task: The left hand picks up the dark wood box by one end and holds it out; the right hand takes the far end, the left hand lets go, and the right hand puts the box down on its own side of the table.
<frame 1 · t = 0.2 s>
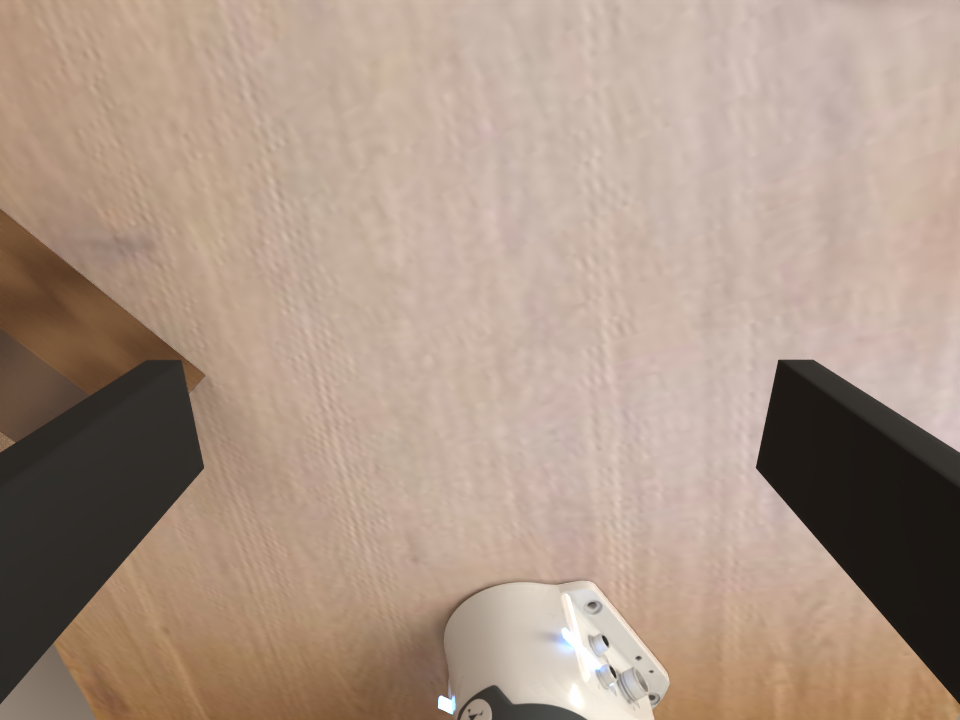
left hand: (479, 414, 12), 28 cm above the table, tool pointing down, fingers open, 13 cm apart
box: (65, 308, 40), on the table
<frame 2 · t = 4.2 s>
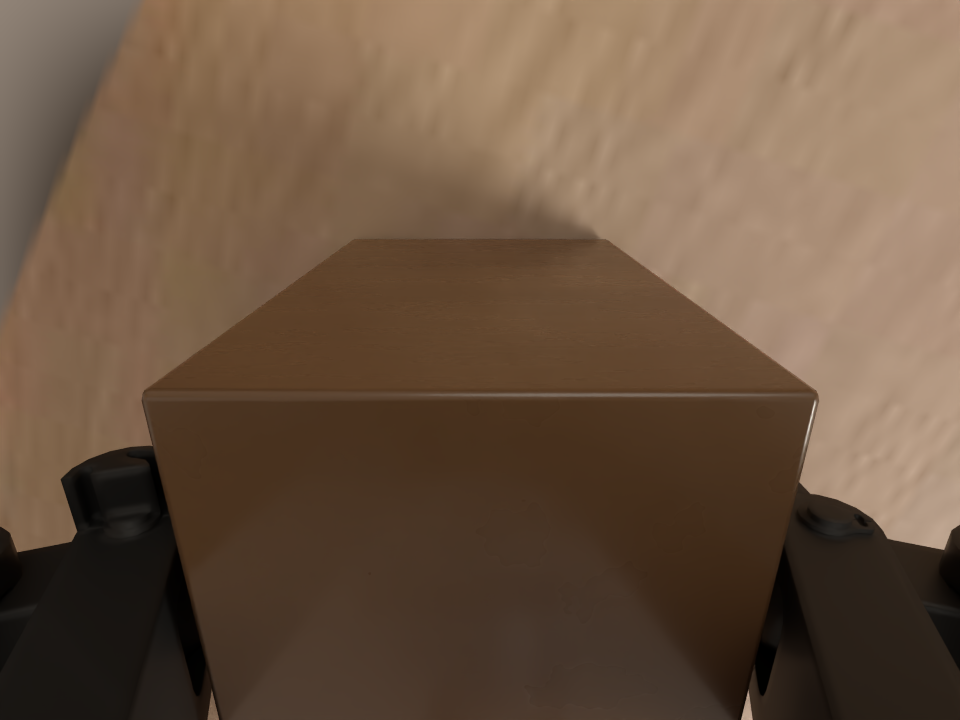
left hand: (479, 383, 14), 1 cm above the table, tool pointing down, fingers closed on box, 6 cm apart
box: (480, 576, 17), on the table, touching left hand
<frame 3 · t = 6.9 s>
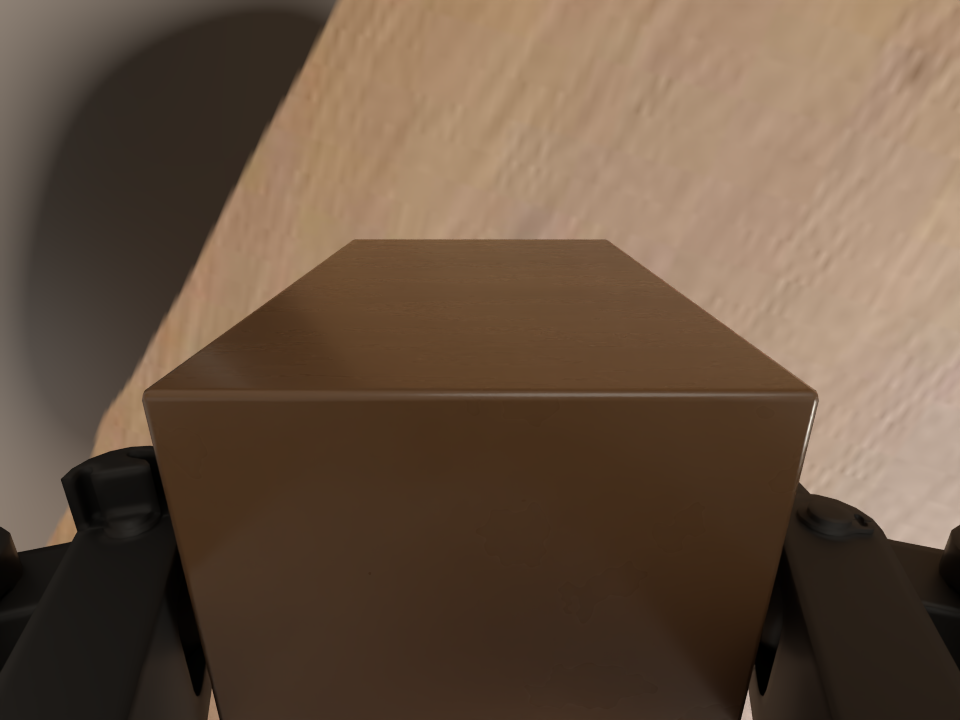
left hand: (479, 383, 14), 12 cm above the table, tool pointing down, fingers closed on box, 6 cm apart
box: (480, 576, 17), point 11 cm above the table, touching left hand
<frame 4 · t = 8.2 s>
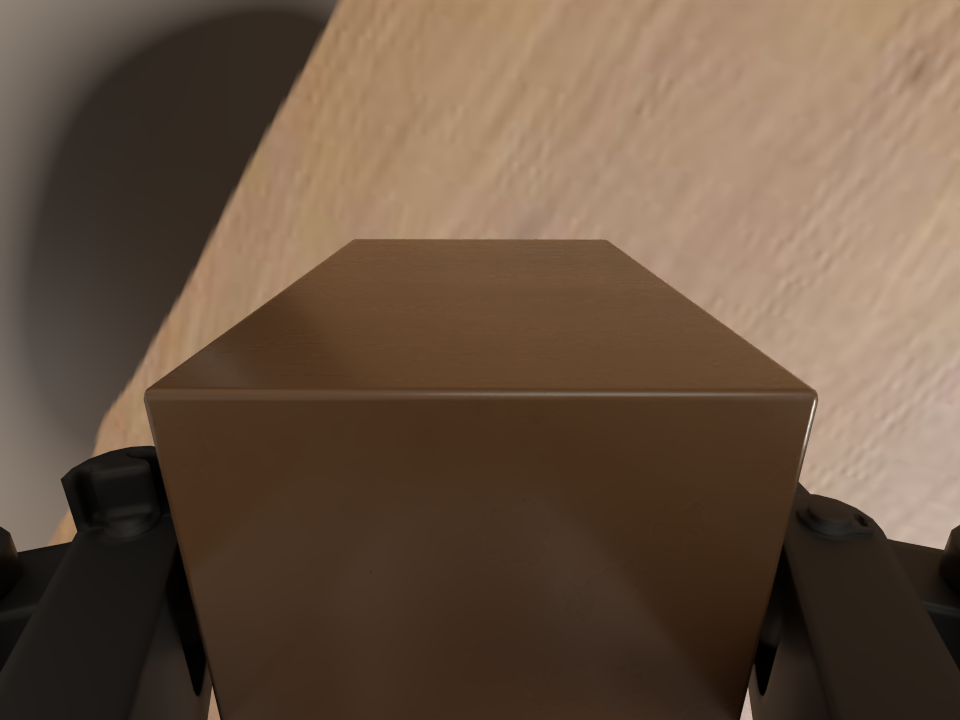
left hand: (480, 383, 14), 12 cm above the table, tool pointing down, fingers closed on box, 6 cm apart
box: (479, 575, 17), point 11 cm above the table, touching left hand, right hand
when the left hand's fingers open (12 cm above the table, at t = 9.4 s): box stays where it is, held by the right hand.
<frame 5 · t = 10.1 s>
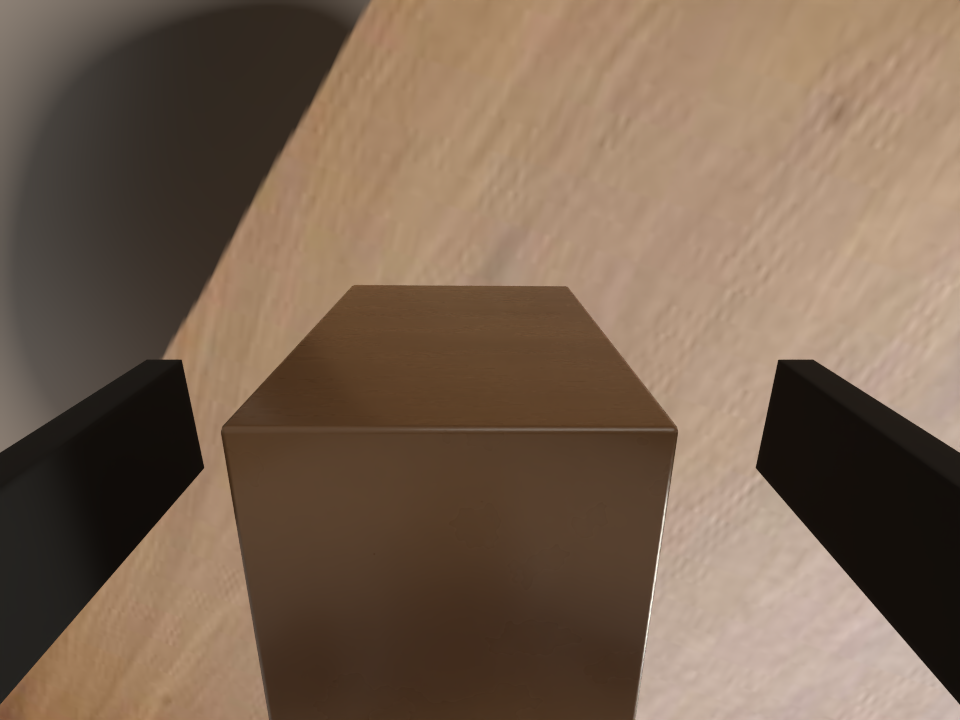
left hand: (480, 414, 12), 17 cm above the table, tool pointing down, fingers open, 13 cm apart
box: (461, 574, 19), point 13 cm above the table, touching right hand
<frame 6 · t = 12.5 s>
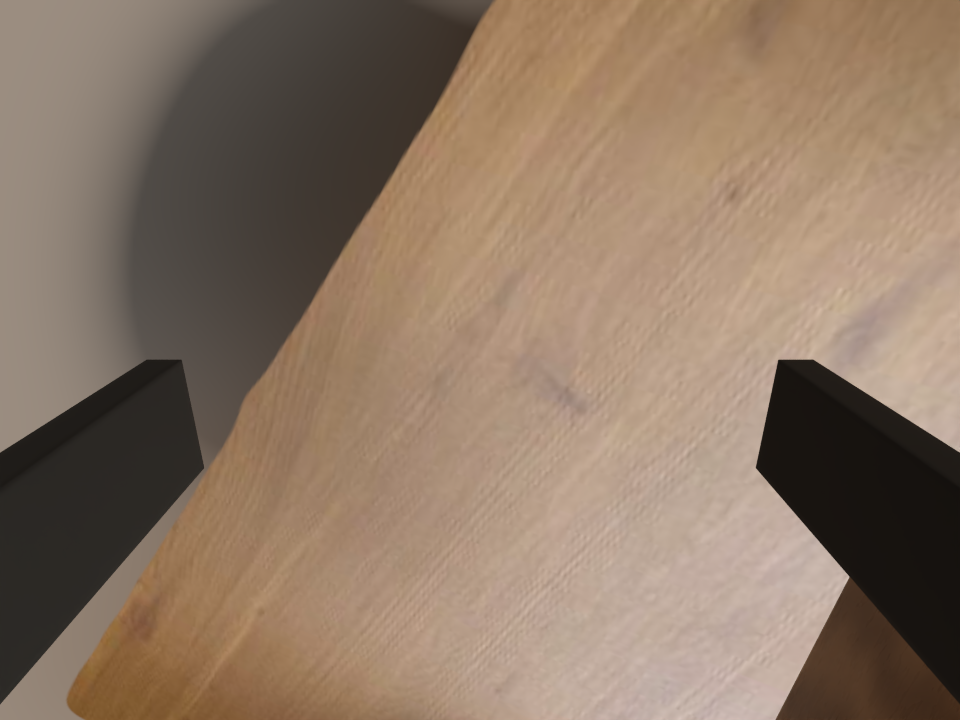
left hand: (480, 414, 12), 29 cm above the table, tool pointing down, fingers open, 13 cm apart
box: (838, 688, 36), point 14 cm above the table, touching right hand
when the right hand's fingers open (5 cm above the table, at t = 16.7 s): box stays where it is, resting on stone.
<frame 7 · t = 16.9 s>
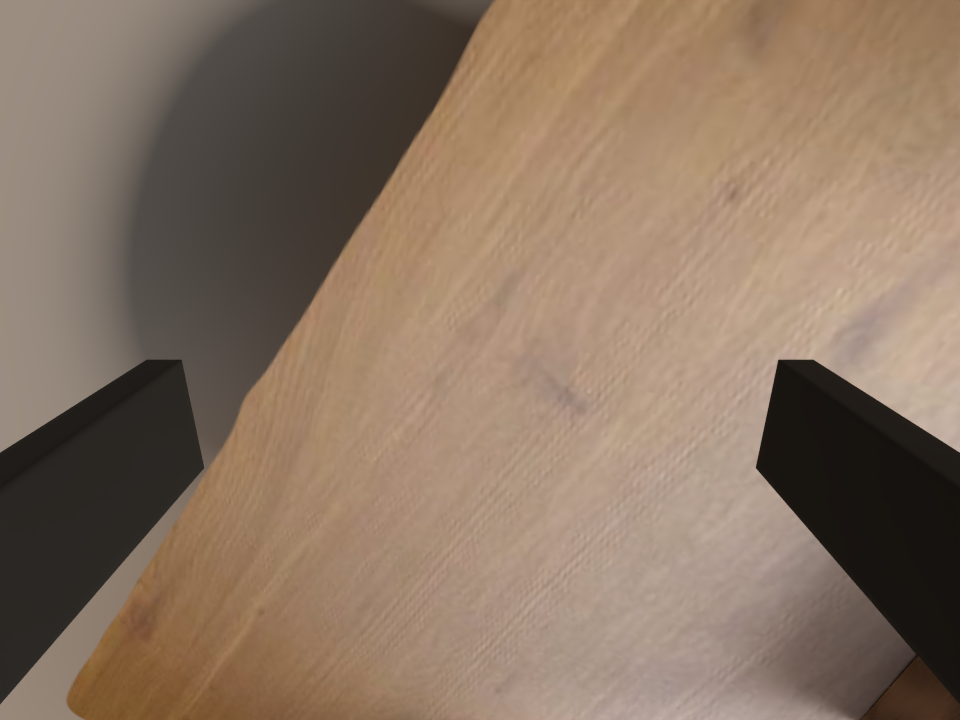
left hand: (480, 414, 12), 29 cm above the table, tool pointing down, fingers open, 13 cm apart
box: (944, 664, 55), on the table, touching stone
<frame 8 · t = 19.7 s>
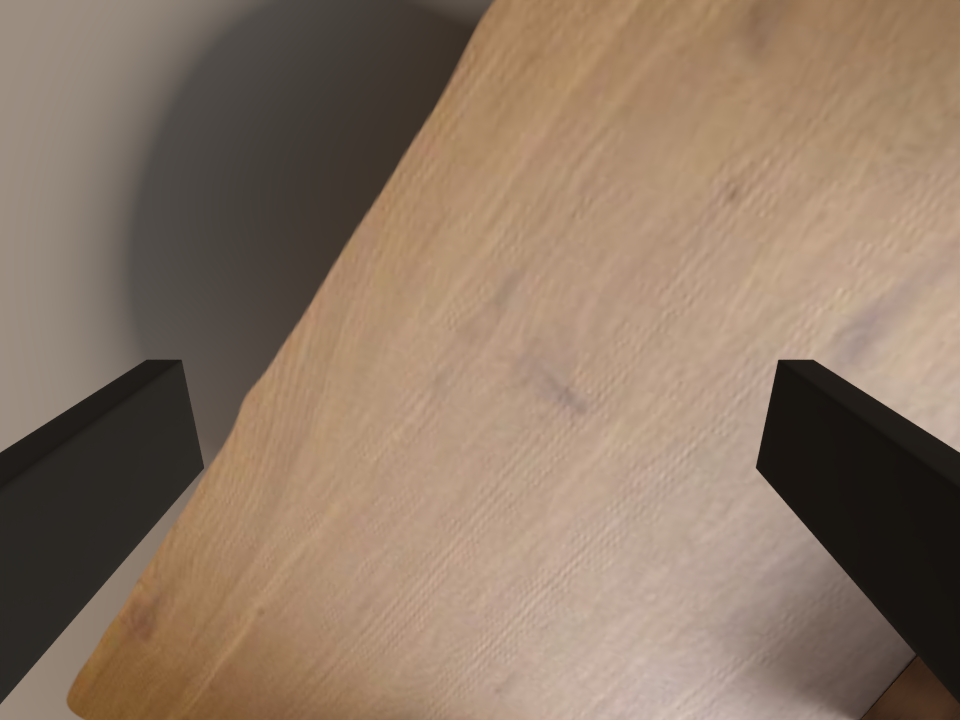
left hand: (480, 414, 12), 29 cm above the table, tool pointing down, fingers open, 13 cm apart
box: (944, 664, 55), on the table, touching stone
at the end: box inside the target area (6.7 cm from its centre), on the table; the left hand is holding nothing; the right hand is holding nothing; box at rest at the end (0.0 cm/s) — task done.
